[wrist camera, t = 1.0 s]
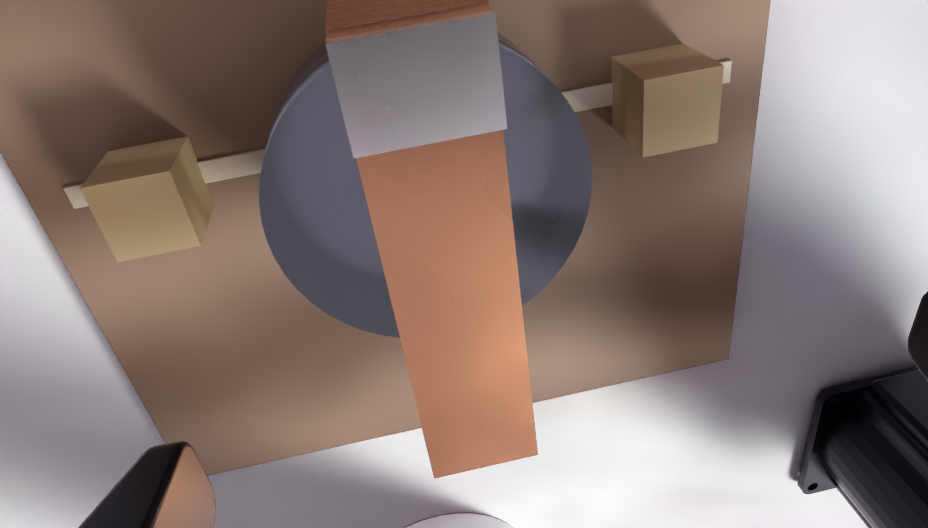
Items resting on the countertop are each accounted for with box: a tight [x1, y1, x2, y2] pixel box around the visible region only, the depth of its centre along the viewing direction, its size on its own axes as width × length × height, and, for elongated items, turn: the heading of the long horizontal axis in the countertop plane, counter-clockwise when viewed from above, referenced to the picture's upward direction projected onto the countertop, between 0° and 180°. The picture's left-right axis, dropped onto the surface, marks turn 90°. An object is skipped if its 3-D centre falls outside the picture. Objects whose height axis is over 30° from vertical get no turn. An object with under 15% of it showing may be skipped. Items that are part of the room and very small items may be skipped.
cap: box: [259, 0, 592, 478], centre depth 13 cm, size 9×7×6 cm
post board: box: [0, 0, 771, 476], centre depth 17 cm, size 22×20×3 cm
